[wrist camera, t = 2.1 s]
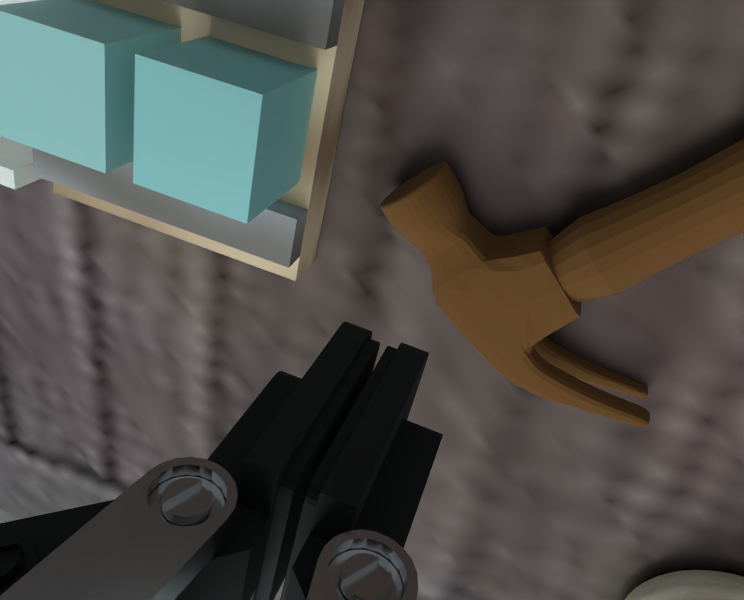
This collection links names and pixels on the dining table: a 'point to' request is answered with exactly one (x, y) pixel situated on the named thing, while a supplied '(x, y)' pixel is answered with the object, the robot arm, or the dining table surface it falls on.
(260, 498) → the robot arm
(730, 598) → the stacking toy
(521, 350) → the hammer
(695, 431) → the dining table surface
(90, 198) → the slot board
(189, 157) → the teal cube block
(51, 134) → the light teal cube
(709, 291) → the dining table surface
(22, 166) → the tray
